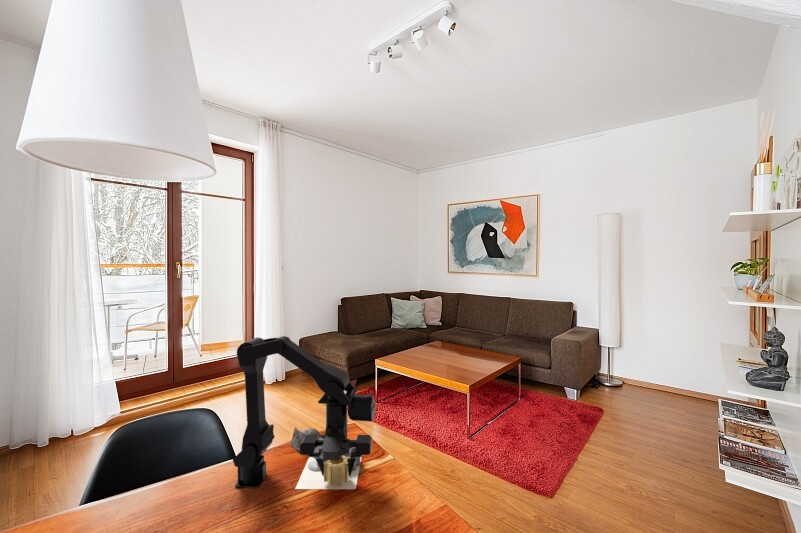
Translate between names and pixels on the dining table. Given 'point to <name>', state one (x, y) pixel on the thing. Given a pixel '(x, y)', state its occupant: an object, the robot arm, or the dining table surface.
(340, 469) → the brass gear
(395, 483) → the dining table surface
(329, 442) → the robot arm
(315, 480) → the gear board
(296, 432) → the caster wheel
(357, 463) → the gear
